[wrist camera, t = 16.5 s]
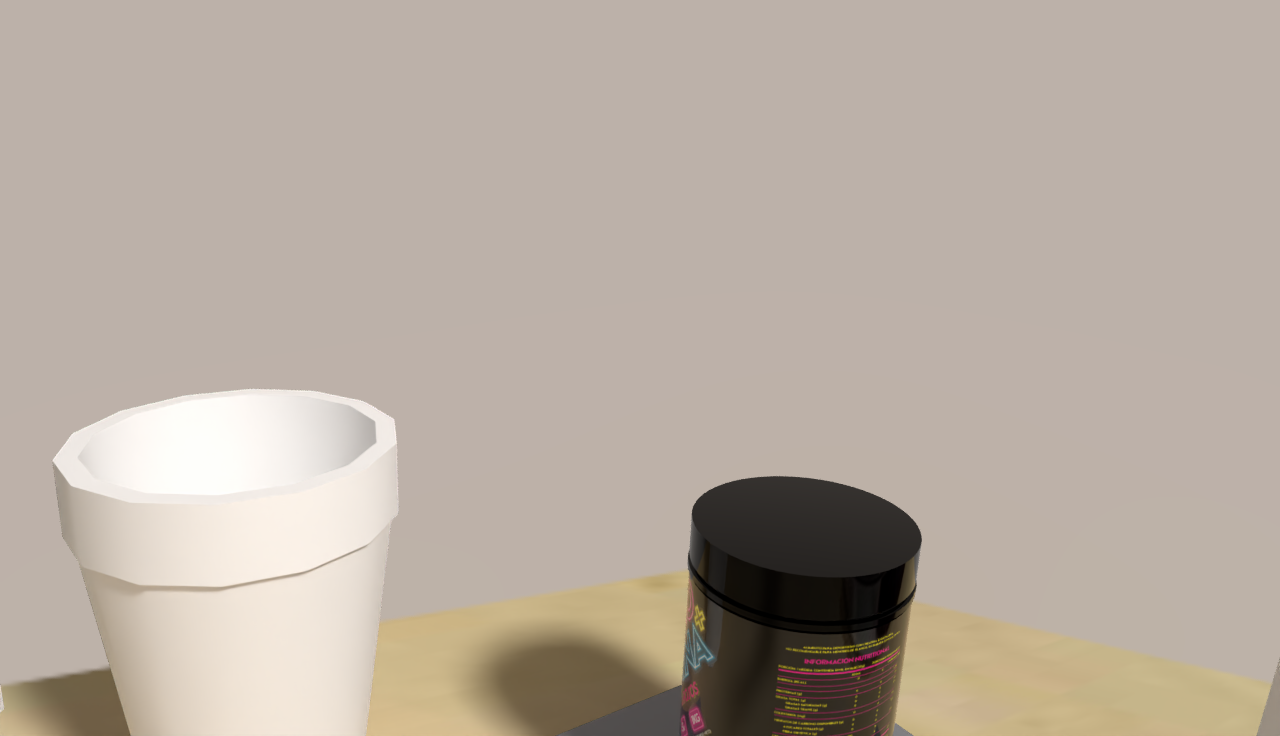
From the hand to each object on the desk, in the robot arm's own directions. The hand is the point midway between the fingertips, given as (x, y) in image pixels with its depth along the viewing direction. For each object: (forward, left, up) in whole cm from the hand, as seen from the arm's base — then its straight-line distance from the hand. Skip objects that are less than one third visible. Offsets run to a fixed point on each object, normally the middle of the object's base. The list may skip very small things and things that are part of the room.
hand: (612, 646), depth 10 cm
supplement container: (-11, +15, -17) cm, 25 cm away
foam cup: (-22, +2, -19) cm, 29 cm away
